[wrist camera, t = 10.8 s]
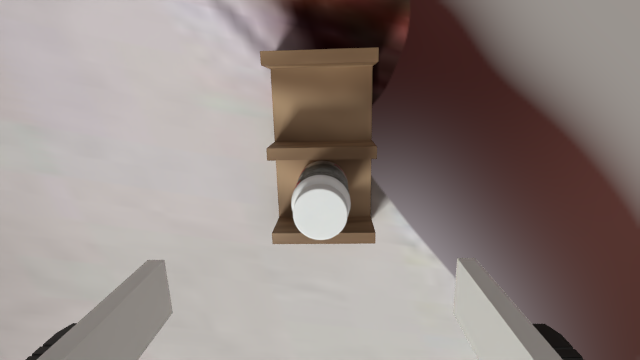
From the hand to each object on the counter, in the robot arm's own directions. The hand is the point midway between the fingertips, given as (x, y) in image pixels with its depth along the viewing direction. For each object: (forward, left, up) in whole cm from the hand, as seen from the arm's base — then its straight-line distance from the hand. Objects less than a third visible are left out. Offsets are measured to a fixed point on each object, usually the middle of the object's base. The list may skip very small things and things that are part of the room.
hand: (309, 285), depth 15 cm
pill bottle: (0, 0, -18) cm, 18 cm away
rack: (-4, 0, -19) cm, 19 cm away
